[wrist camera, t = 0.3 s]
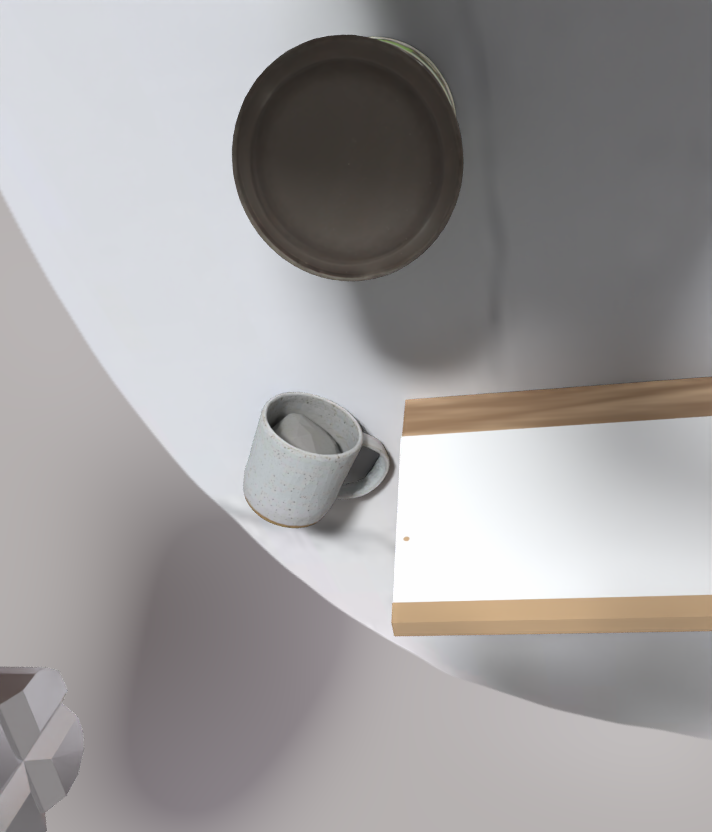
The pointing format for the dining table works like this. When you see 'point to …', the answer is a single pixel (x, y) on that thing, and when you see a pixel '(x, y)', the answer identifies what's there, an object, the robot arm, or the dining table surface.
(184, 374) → the dining table surface
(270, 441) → the ceramic mug
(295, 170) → the coffee can
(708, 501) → the propped lid
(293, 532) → the dining table surface
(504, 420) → the cold frame
